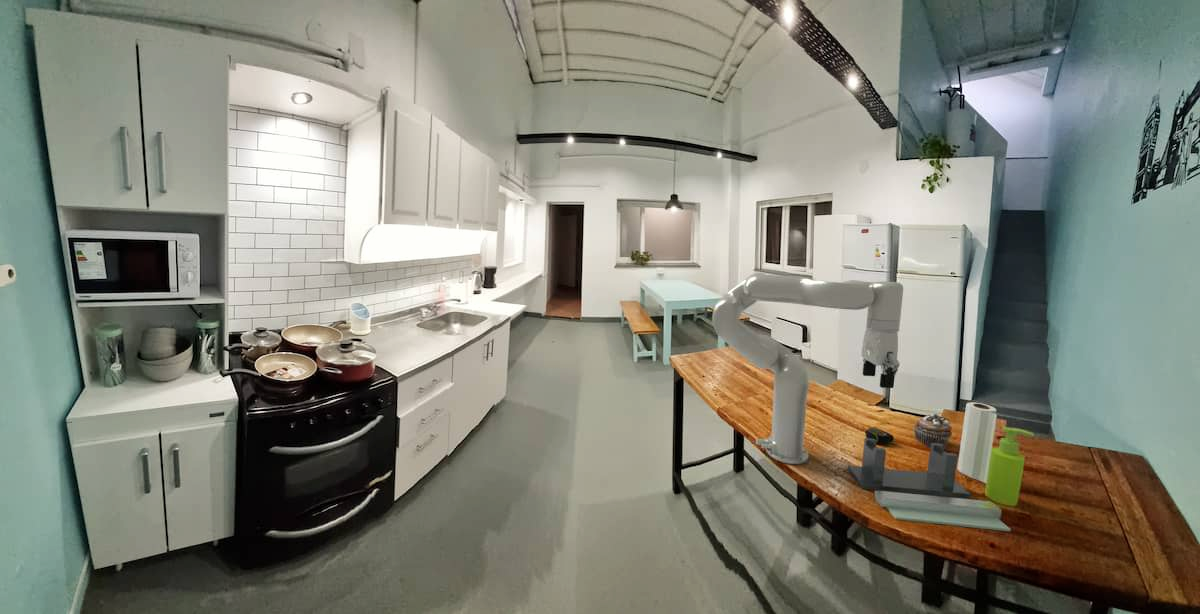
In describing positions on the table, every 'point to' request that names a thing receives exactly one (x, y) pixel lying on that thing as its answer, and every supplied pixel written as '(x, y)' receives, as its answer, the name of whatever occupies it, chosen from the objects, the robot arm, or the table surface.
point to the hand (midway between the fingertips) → (877, 381)
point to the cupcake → (932, 430)
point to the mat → (948, 519)
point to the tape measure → (879, 435)
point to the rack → (909, 473)
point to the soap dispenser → (1006, 469)
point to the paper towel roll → (977, 440)
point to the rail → (938, 504)
